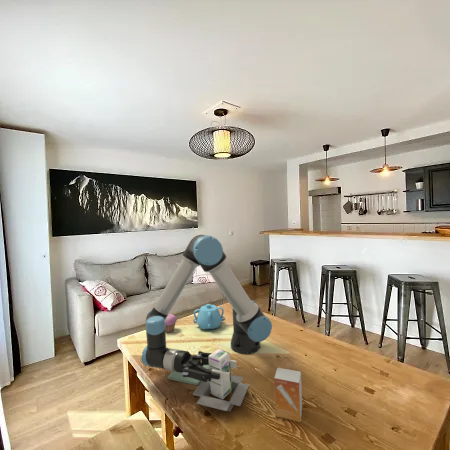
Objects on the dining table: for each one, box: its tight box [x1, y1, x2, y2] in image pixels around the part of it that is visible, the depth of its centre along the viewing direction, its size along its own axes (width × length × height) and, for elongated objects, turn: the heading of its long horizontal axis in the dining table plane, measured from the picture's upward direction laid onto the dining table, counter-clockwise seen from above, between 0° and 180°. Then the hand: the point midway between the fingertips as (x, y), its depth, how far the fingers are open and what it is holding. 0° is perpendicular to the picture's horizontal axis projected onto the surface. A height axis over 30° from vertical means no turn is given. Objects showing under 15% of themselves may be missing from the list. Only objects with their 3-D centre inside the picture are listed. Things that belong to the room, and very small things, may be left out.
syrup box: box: [208, 348, 233, 400], centre depth 92 cm, size 6×6×14 cm
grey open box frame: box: [192, 374, 250, 413], centre depth 92 cm, size 18×18×3 cm
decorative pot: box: [193, 303, 226, 331], centre depth 154 cm, size 16×16×14 cm
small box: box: [273, 367, 303, 423], centre depth 83 cm, size 8×6×13 cm
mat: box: [167, 365, 209, 387], centre depth 108 cm, size 14×14×1 cm
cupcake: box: [165, 313, 178, 333], centre depth 150 cm, size 9×9×10 cm
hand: (232, 370), depth 90 cm, fingers closed on syrup box, 7 cm apart
